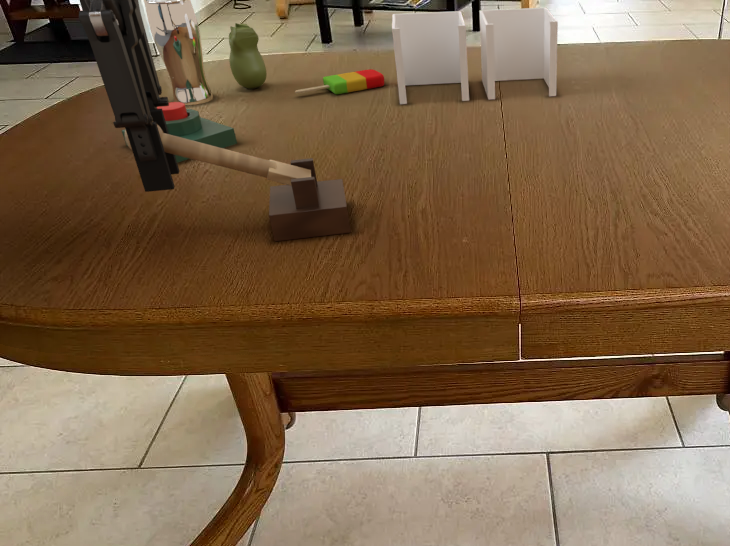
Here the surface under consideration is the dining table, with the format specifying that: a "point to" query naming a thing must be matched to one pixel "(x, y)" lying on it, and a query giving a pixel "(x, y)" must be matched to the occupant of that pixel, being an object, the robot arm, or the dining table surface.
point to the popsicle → (350, 82)
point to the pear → (246, 57)
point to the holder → (308, 207)
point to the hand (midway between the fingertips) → (162, 180)
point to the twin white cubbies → (498, 48)
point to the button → (174, 111)
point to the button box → (200, 131)
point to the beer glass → (179, 48)
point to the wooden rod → (230, 159)
